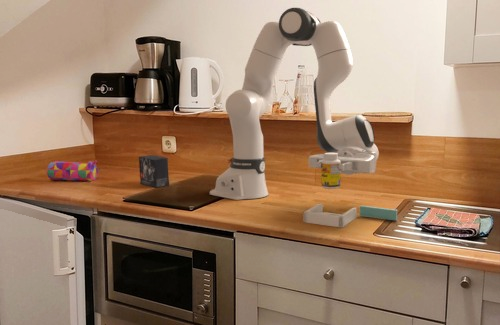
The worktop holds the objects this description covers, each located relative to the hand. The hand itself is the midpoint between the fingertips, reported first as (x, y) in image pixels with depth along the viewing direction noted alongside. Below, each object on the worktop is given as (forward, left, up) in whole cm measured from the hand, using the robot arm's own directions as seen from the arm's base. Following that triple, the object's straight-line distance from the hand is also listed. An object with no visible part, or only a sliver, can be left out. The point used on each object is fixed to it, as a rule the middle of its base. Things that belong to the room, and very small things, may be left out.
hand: (329, 166), depth 135 cm
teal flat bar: (+12, +9, -16) cm, 22 cm away
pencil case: (-126, +7, -17) cm, 127 cm away
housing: (0, +1, -16) cm, 16 cm away
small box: (-85, +16, -16) cm, 88 cm away
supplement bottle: (0, +1, -7) cm, 7 cm away
